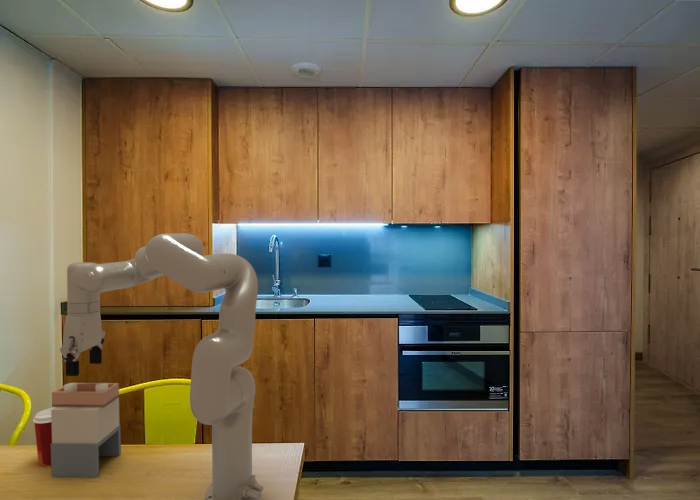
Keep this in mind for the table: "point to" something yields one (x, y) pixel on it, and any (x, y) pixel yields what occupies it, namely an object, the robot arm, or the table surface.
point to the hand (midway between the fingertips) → (84, 369)
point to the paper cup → (43, 436)
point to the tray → (85, 395)
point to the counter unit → (83, 439)
